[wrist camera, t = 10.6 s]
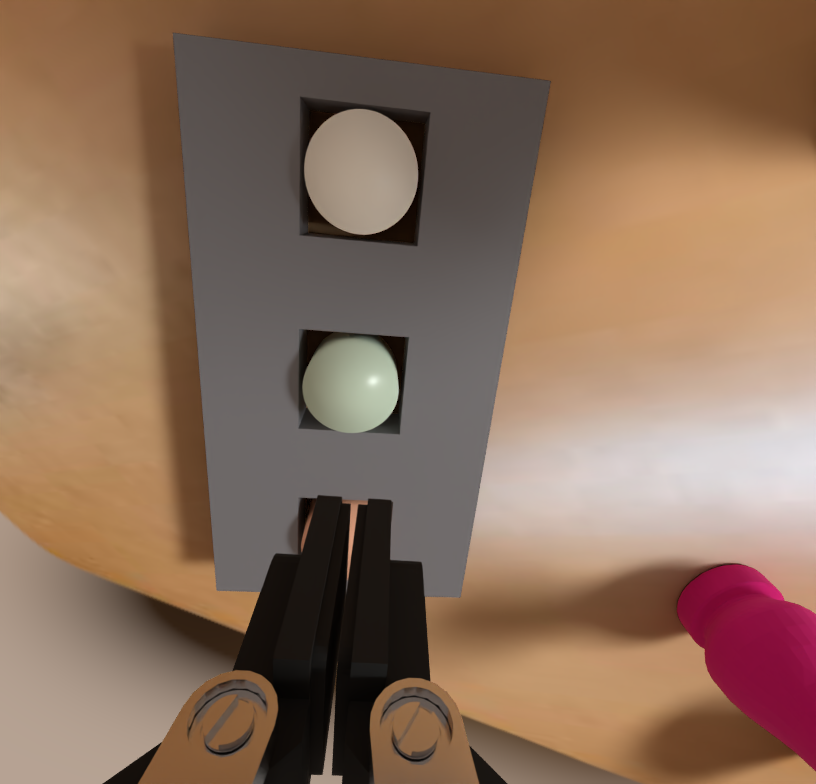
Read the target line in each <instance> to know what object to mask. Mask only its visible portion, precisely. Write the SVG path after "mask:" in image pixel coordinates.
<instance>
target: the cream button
mask: <svg viewBox="0 0 816 784" xmlns="http://www.w3.org/2000/svg"><path fill="white" fill-rule="evenodd" d="M304 175H305V182H306V187H307V190H308V193H309V196H310V198H311V200H312V202H313V204H314V205H315V207H316V209H317V210H318V211H319V213H320V214H321V215H322V216H323V217H324V218H325V219H326V220H327V221H328V222H330V223H331V224H332V225H334V226H335V227H337V228H339V229H341V230H343V231H346V232H349V233H353V234H363V235H367V234H374V233H378V232H381V231H383V230H386V229H388V228H389V227H391V226H393V225H394V224H395V223H397V222H398V221H399V220H400V219H401V218H402V217H403V216H404V214H405V213H406V212H407V210H408V209H409V207H410V205H411V204H412V201H413V199H414V197H415V193H416V189H417V184H418V164H417V159H416V155H415V152H414V149H413V147H412V145H411V143H410V141H409V139H408V137H407V136H406V134H405V133H404V132H403V131H402V129H401V128H400V127H399V126H398V125H397V124H396V123H395V122H393V121H392V120H391V119H389V118H388V117H386V116H384V115H382V114H380V113H378V112H375V111H371V110H366V109H352V110H347V111H343V112H340V113H338V114H336V115H334V116H332V117H331V118H329V119H328V120H326V121H325V122H324V123H323V124H322V125H321V126H320V127H319V128H318V130H317V131H316V132H315V134H314V135H313V137H312V139H311V141H310V143H309V146H308V149H307V152H306V156H305V164H304Z"/></svg>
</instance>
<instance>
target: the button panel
mask: <svg viewBox="0 0 816 784" xmlns="http://www.w3.org/2000/svg"><path fill="white" fill-rule="evenodd" d="M173 41H174V54H175V67H176V80H177V92H178V105H179V118H180V130H181V143H182V156H183V169H184V181H185V194H186V207H187V219H188V232H189V245H190V257H191V270H192V283H193V296H194V308H195V321H196V334H197V346H198V359H199V372H200V385H201V397H202V410H203V423H204V435H205V448H206V461H207V473H208V486H209V499H210V512H211V524H212V537H213V550H214V562H215V575H216V588H217V591H247V592H261V589H262V586H263V583H264V581H265V578H266V575H267V572H268V569H269V566H270V564H271V561H272V559H273V556H274V555H275V554H276V553H280V554H298V555H301V554H302V551H301V541H302V537H303V533H304V529H305V498H317V496H318V495H325V496H340V497H342V499H343V500H365V501H368V498H371V499H386V500H391V547H390V560H401V561H418V562H422V566H423V579H424V594H425V597H461V591H462V585H463V580H464V574H465V568H466V562H467V557H468V551H469V545H470V540H471V534H472V528H473V522H474V517H475V511H476V505H477V500H478V494H479V488H480V483H481V477H482V471H483V465H484V460H485V454H486V448H487V443H488V437H489V431H490V425H491V420H492V414H493V408H494V403H495V397H496V391H497V385H498V380H499V374H500V368H501V363H502V357H503V351H504V345H505V340H506V334H507V328H508V323H509V317H510V311H511V306H512V300H513V294H514V288H515V283H516V277H517V271H518V266H519V260H520V254H521V248H522V243H523V237H524V231H525V226H526V220H527V214H528V208H529V203H530V197H531V191H532V186H533V180H534V174H535V168H536V163H537V157H538V151H539V146H540V140H541V134H542V128H543V123H544V117H545V111H546V106H547V100H548V94H549V89H550V83H551V81H548V80H540V79H532V78H524V77H516V76H508V75H501V74H493V73H485V72H477V71H469V70H461V69H454V68H446V67H438V66H430V65H422V64H414V63H407V62H399V61H391V60H383V59H375V58H367V57H359V56H352V55H344V54H336V53H328V52H320V51H312V50H305V49H297V48H289V47H281V46H273V45H265V44H258V43H250V42H242V41H234V40H226V39H218V38H210V37H203V36H195V35H187V34H179V33H173ZM352 109H366V110H371V111H375V112H378V113H380V114H382V115H384V116H386V117H388V118H389V119H391V120H397V121H406V122H415V123H423V124H425V128H424V139H423V150H422V161H421V171H420V182H419V193H418V204H417V215H416V225H415V236H414V243H410V242H399V241H389V240H378V239H367V238H357V237H346V236H336V235H325V234H314V233H308V205H309V193H308V190H307V187H306V182H305V175H304V164H305V156H306V152H307V149H308V146H309V120H310V110H312V111H320V112H329V113H337V114H338V113H340V112H343V111H347V110H352ZM307 330H320V331H333V332H346V333H359V334H372V335H385V336H398V337H405V345H404V355H403V366H402V377H401V388H400V399H399V409H398V414H392V413H391V414H390V416H389V417H388V418H387V419H386V420H385V421H384V422H383V423H381V424H380V425H378V426H377V427H375V428H373V429H371V430H368V431H364V432H360V433H344V432H339V431H336V430H333V429H330V428H328V427H326V426H325V425H323V424H322V423H320V422H319V421H318V420H317V419H316V418H315V417H314V416H313V415H312V414H311V412H310V411H309V409H308V408H306V403H305V400H304V397H303V389H302V385H303V378H304V374H305V372H306V369H307ZM347 584H348V580H347ZM346 592H347V587H346Z"/></svg>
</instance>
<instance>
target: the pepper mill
mask: <svg viewBox="0 0 816 784" xmlns="http://www.w3.org/2000/svg"><path fill="white" fill-rule="evenodd" d="M677 614H678V618H679V620H680V622H681V623H682V625H683V626H684V627H685V629H686V630H687V631H688V633H689V634H690V636H691V637H692V638H693V640H694V641H695V642H696V643H697V644H698V645H699V646H700V647H702V648H704V649H705V663H706V666H707V670H708V672H709V674H710V676H711V678H712V679H713V681H714V682H715V683H716V684H717V685H718V687H719V688H720V689H721V690H722V691H723V693H724V694H725V695H726V696H727V698H728V699H729V700H730V701H731V702H732V703H733V704H735V705H736V706H737V707H738V708H739V709H740V710H741V711H742V712H743V713H744V714H745V715H747V716H748V717H749V718H751V719H752V720H753V721H755V722H756V723H757V724H759V725H760V726H761V727H763V728H764V729H765V730H767V731H768V732H769V733H771V734H772V735H774V736H775V737H776V738H778V739H779V740H780V741H782V742H783V743H784V744H785V745H787V746H788V747H789V748H790V749H792V750H793V751H794V752H796V753H797V754H798V755H799V756H800V757H801V758H802V759H803V760H804V761H805V762H806V763H807V764H808V765H809V766H811V767H812V768H813V769H814V770H815V771H816V614H815V613H813V612H812V611H810V610H808V609H806V608H804V607H802V606H800V605H798V604H795V603H791V602H787V601H784V598H783V596H782V594H781V593H780V592H779V590H778V589H777V588H776V587H775V586H774V585H773V584H772V583H770V582H769V581H768V580H767V579H766V578H765V577H764V576H763V575H762V574H761V573H760V572H758V571H757V570H755V569H754V568H751V567H748V566H744V565H738V564H734V565H723V566H719V567H716V568H713V569H710V570H708V571H706V572H704V573H702V574H701V575H699V576H698V577H696V578H695V579H694V580H692V581H691V582H690V583H689V584H688V585H687V586H686V588H685V589H684V590H683V591H682V593H681V595H680V598H679V600H678V605H677Z"/></svg>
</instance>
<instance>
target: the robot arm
mask: <svg viewBox="0 0 816 784" xmlns="http://www.w3.org/2000/svg"><path fill="white" fill-rule="evenodd" d="M350 513H351V504H348V503H342V497H340V496H325V495H318V496H317V499H316V503H315V507H314V510H313V514H312V518H311V521H310V525H309V528H308V532H307V536H306V539H305V543H304V547H303V550H302V554H301V555H298V554H280V553H276V554H275V555H274V556H273V559H272V561H271V564H270V566H269V569H268V572H267V575H266V578H265V581H264V583H263V586H262V589H261V592H260V595H259V598H258V600H257V603H256V606H255V609H254V612H253V614H252V617H251V620H250V623H249V626H248V629H247V631H246V634H245V637H244V640H243V643H242V646H241V648H240V651H239V654H238V657H237V660H236V663H235V665H234V668H233V671H232V672H227V673H223V674H220V675H218V676H216V677H214V678H212V679H210V680H208V681H206V682H205V683H204V684H203V685H202V686H201V687H199V688H198V689H197V690H196V691H195V692H194V693H193V694H192V695H191V696H190V698H189V699H188V701H187V702H186V703H185V704H184V706H183V707H182V709H181V711H180V712H179V714H178V716H177V717H176V719H175V721H174V723H173V724H172V726H171V728H170V730H169V732H168V733H167V735H166V737H165V738H164V740H163V742H161V743H160V744H159V745H157V746H156V747H154V748H153V749H151V750H150V751H149V752H147V753H146V754H144V755H143V756H141V757H140V758H139V759H137V760H136V761H134V762H133V763H132V764H130V765H129V766H127V767H126V768H124V769H123V770H122V771H120V772H119V773H117V774H116V775H114V776H113V777H112V778H110V779H109V780H107V781H106V782H105V783H103V784H310V779H311V775H322V774H323V768H324V761H325V753H326V746H327V738H328V731H329V723H330V715H331V708H332V700H333V693H334V685H335V677H336V670H337V681H336V701H335V722H334V743H333V763H332V775H339V776H343V777H342V784H507V783H506V782H505V781H504V780H503V779H502V778H501V777H500V776H499V775H498V774H497V773H496V772H495V771H494V770H493V769H492V768H491V767H490V766H489V765H488V764H487V763H486V762H485V761H484V760H483V759H482V758H481V757H480V756H479V755H478V754H477V753H476V752H475V751H474V750H473V749H472V748H471V747H470V746H469V743H468V739H467V736H466V732H465V728H464V724H463V721H462V717H461V715H460V712H459V710H458V707H457V705H456V703H455V702H454V700H453V699H452V698H451V697H450V695H449V694H448V693H447V692H446V691H445V690H444V689H442V688H441V687H439V686H438V685H437V684H435V683H433V682H430V669H429V654H428V639H427V624H426V609H425V594H424V579H423V566H422V562H418V561H401V560H390V547H391V500H386V499H371V498H368V504H367V505H363V504H358V509H357V517H356V524H355V532H354V539H353V547H352V554H351V562H350V569H349V577H348V584H347V568H348V550H349V531H350ZM346 587H347V592H346ZM337 662H338V664H337Z"/></svg>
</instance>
